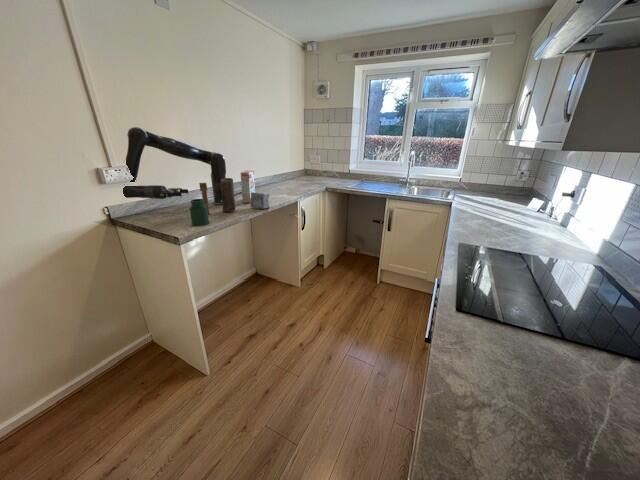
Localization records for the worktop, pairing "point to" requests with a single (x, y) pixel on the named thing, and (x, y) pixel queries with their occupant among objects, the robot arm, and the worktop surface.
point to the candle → (227, 194)
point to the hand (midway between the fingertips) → (184, 192)
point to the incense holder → (259, 200)
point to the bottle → (198, 212)
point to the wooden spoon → (204, 194)
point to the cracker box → (247, 185)
